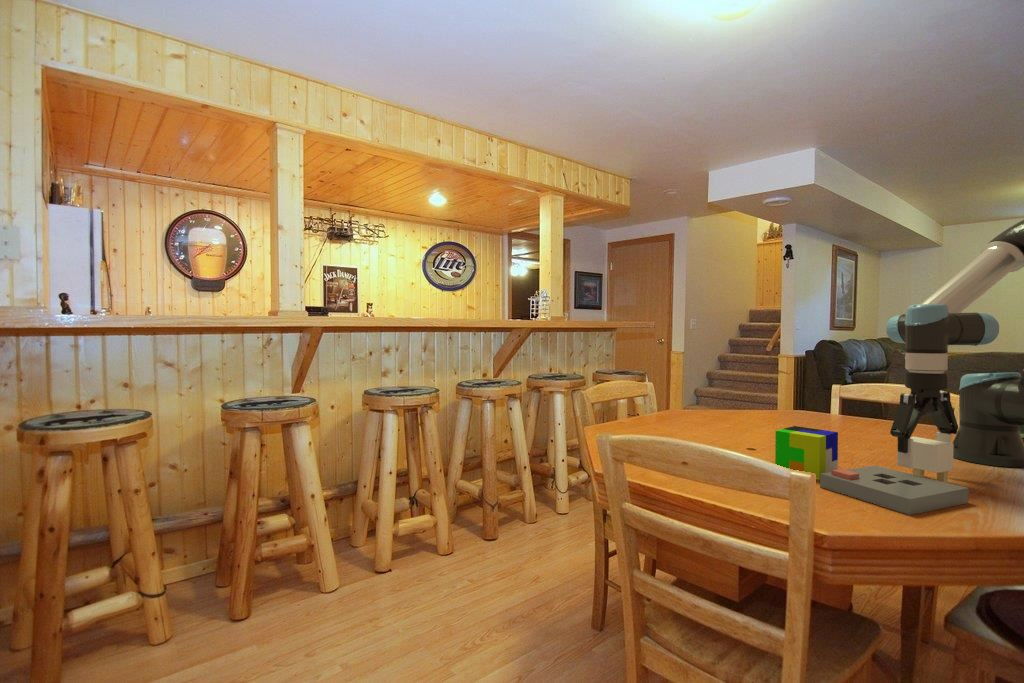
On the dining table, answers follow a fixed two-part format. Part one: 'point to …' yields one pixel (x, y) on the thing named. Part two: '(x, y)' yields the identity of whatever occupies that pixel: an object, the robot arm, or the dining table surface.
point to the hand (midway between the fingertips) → (924, 463)
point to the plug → (931, 457)
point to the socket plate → (894, 489)
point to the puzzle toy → (807, 449)
